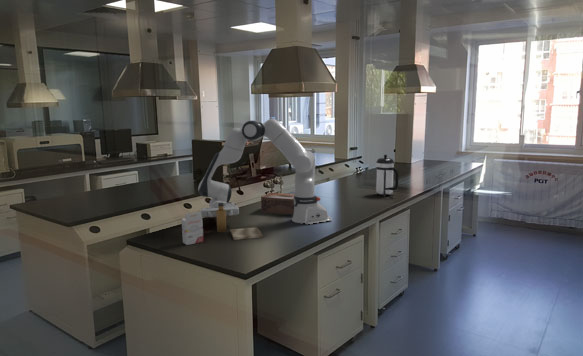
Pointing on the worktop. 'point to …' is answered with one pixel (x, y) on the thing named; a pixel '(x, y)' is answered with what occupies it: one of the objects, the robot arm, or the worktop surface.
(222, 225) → the reagent bottle
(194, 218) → the ink cartridge box
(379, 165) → the coffee press
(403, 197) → the worktop surface
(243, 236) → the birch board
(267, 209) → the tissue box cover
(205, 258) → the worktop surface
